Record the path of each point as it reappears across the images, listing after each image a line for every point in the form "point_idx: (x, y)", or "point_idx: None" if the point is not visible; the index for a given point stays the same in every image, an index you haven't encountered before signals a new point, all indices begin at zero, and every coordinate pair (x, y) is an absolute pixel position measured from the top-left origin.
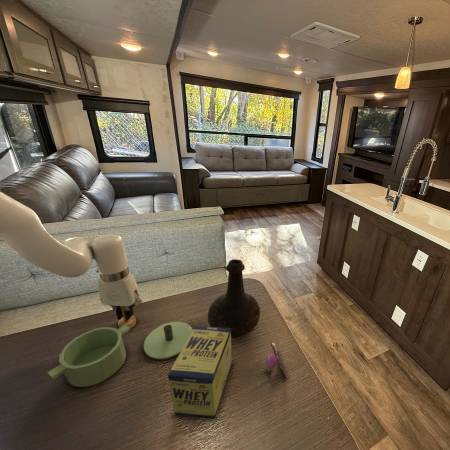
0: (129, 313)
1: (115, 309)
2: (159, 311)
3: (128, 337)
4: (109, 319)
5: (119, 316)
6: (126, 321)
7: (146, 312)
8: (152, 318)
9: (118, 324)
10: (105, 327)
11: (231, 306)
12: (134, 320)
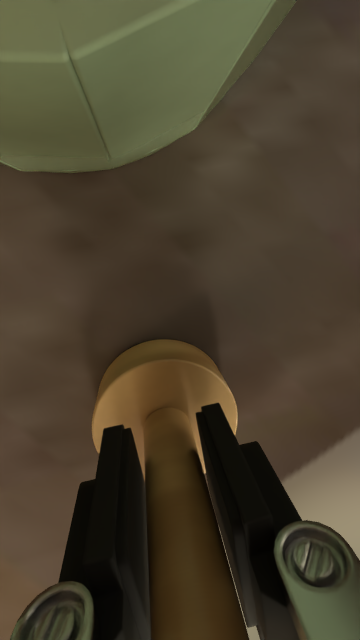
0: (82, 524)
1: (295, 551)
2: (20, 566)
3: (35, 278)
4: (337, 399)
5: (205, 441)
6: (153, 413)
7: None
8: (13, 499)
9: (205, 365)
10: (89, 21)
11: None
12: (95, 443)
